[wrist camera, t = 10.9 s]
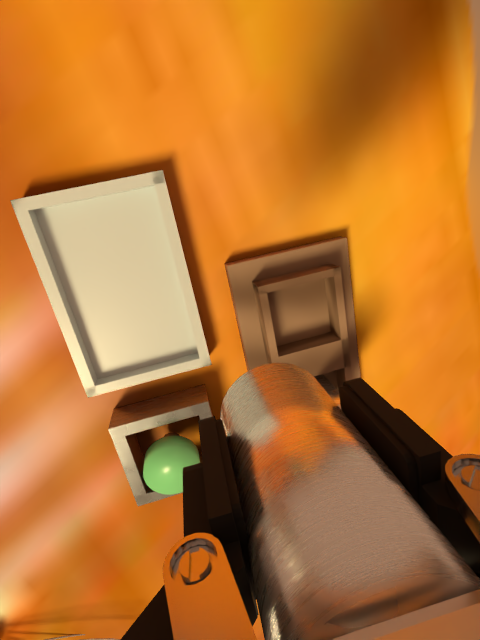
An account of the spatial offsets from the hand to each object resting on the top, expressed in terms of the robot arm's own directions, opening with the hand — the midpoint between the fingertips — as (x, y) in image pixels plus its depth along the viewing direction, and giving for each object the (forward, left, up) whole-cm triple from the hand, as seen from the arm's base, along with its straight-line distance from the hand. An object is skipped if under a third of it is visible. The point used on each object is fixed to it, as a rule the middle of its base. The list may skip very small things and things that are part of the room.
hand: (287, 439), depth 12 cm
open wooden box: (+11, -7, -19) cm, 23 cm away
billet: (0, 0, -2) cm, 2 cm away
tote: (-3, -7, -19) cm, 20 cm away
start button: (+11, -7, -18) cm, 22 cm away
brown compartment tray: (+6, +6, -19) cm, 21 cm away
